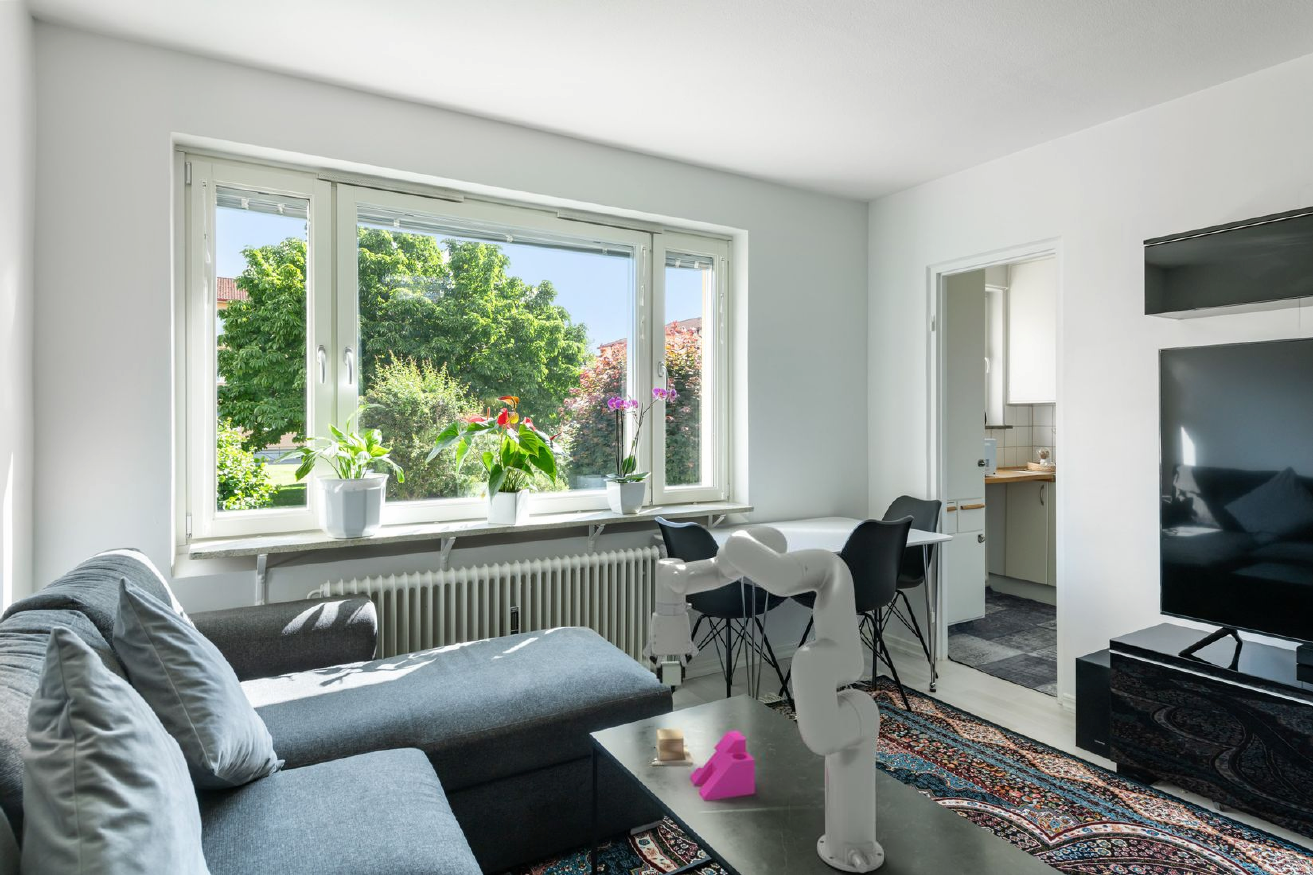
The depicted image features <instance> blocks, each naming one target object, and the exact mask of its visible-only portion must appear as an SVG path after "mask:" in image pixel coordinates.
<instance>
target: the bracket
mask: <svg viewBox="0 0 1313 875" xmlns="http://www.w3.org/2000/svg"><path fill="white" fill-rule="evenodd" d="M713 749H714V750H715V752H714V753H713V755H712V756H711V757H710V758H709V759H708V760H707V761H706V763H705V764H704V765H703V766H702V767H698V768H696V769H695V770H693V773H692V774H691V775H690V776H689V779H690V781H691V783H692V784H693V786H694V787H697V786H701V788H699V790H698V794H699V796H700V797H701V798H702V800H703V801H704V802H705V801H711V800H719V799H725V798H733V797H740V796H747V795H754V794H755V793H756V792H755V790H756V789H755V782H756V780H755V775H756V773H755V769H756V768H755V759H754V757H753V756H752V755H751V754H750V753H749V752H748V751H747V740H746V738H745V737H744V736H743V735H742V734H741V733H740V731H738V730H731V731H727V732H726V733H725V734H724V735H723V737H722V738H721V739H720V740H719V741H718V743H717V744H716V745H715V746H714V748H713Z"/></svg>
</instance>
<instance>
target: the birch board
mask: <svg viewBox="0 0 1313 875" xmlns="http://www.w3.org/2000/svg"><path fill="white" fill-rule="evenodd" d="M656 756H657V758H655V759H654V760H657V761H655V762H652V763H651V766H652V765H654V764H655V765H658V764H659V765H661V764H662V765H670V766H688V765H689V766H690V764H693V765H694V762H693V759H692V756H691V753H690V750H689V747H688V745H687V744H686V745H685V744H684V759H669V760H659V756H658V754H657V755H656Z"/></svg>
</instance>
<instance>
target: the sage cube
mask: <svg viewBox="0 0 1313 875" xmlns="http://www.w3.org/2000/svg"><path fill="white" fill-rule="evenodd" d="M679 663H680V661H677V660H675V661H674V660H673V661H662V662H661V664H662V668H663V683H662V686H665V687H666V686H682V683H681V666H680V664H679Z"/></svg>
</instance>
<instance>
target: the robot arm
mask: <svg viewBox="0 0 1313 875" xmlns="http://www.w3.org/2000/svg"><path fill="white" fill-rule="evenodd" d="M744 577H745V578H747V579H749V580H750V581H751V582H753V583H754V584H755V585H758V586H759V587H760V588H762V589H763V590H765V591H767V592H768V593H769V594H772V595H775V596H777V597H791V596H796V595H799V594H804V593H808V592H812V591H813V592H815V593H816V597H815V600H814V603H813V609H812V618H813V624H814V626H813V627H814V632H815V634H814V636H815V637H814V638H815V639H814V640H812V641H808V642H806V643H804V644H802V645H801V646H800V647H798V648H797V649H796V651H795V652H794V654H793V656H792V659H791V664H790V677H791V685H792V692H793V699H794V706H795V707H794V708H795V712H796V713H795V714H796V722H797V726H798V730H799V733H800V736H801V739H802V740H803V742H804V744H805V745H806V747H807V748H808V749H809V751H810V750H811V751H812V752H813V753H814V754H816V755H820V756H825V760H824V804H825V805H824V820H825V822H824V823H825V824H824V825H825V826H824V827H825V828H824V829H825V831H824V832H825V833H824V834H823V835H822V836H820V838H819V839H818V841H817V844H816V845H817V846H816V850H817V854H818V855H819V857H820V858H821V859H822V860H823V861H824V862H825V863H827V864H828V865H830V866H832V867H834V868H835V869H839V870H840V871H846V872H851V873H862V874H864V873H867V872H871V871H874V870H877V869H878V868H879V867H881V866H882V865H883V864H884V862H885V861H884V860H885V853H884V849H883V847H882V845H881V844H879V842H877V840H876V834H877V833H876V759H877V758H876V757H877V756H876V755H877V747H878V746H877V745H878V740H879V733H880V726H881V717H880V716H881V714H880V710H879V707H878V705H877V704H876V701H875V700H874V699H873V697H872V696H871V695H870V694H868V693H867V692H865V691H863V690H861V689H856V688H849V689H848V688H847V689H843V690H841V691H837V689H839V688H841V687H845V686H847V685H849V684H852V683H854V682H856V681H857V680H859V679H860V678H861V677H862V675H863V674H864V671H865V660H864V659H865V658H864V653H863V647H862V641H861V632H860V627H859V622H858V617H857V610H856V598H855V588H854V587H855V586H854V580H853V576H852V574H851V570H850V569H849V566H848V565H847V563H846V562H845V561H844V560H843V559H842V558H841V556H839V555H838V554H836V553H835V552H832V551H830V550H828V549H824V548H805V549H799V550H793V551H788V541H787V539H786V536H785V535H784V534H783V533H782V531H780V530H778V529H777V528H774V527H772V526H761V527H751V528H744V529H739V530H736V531H734V532H733V533H731V534H730V535H729V537H727V539H726V542H725V543H722V544H721V545H720V546H719V547H718V549H717V552H716V556H714V557H712V558H708V559H700V560H694V561H689V562H685V561H684V560H683V559H681V558H676V557H675V558H674V557H669V558H668V557H666V558H665V557H663V558H661V559H658V560H657V561H656V564H655V612H653V613H652V615H651V622H650V631H649V632H650V635H649V641H648V643H647V644H646V646H645V647H644V649H643V650H642V655H643V656H644V657H645V658H647V659H648V660H650V662H651V663H652V664H654V665H655V666H656V667H655V669H656V671H655V673H656V677H655V678H656V680H658V682H659V684H660V685H661V684H662V683H663V668H662V664H661V662H663V657H664V656H679V660H680V661H679V664H680V666H681V684H683V683H684V679H686V667H687V665H688V664H689V663H690V662H691V661H692V659H693V658H695V657H696V656H697V655H699V654H700V651H699V648H698V647H697V646H696V645H695V643H694V642H693V640H692V633H691V624H690V617H689V613H688V612H687V611H688V610H690V609H692V603H690V602H689V603H688V602H687V601H686V596H687V595H692V594H698V593H701V592H707V591H714V590H716V589H720V588H721V587H725V586H727V585H730V584H732V583H735V582H738V580H740V579H741V578H744ZM662 685H663V684H662Z"/></svg>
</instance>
